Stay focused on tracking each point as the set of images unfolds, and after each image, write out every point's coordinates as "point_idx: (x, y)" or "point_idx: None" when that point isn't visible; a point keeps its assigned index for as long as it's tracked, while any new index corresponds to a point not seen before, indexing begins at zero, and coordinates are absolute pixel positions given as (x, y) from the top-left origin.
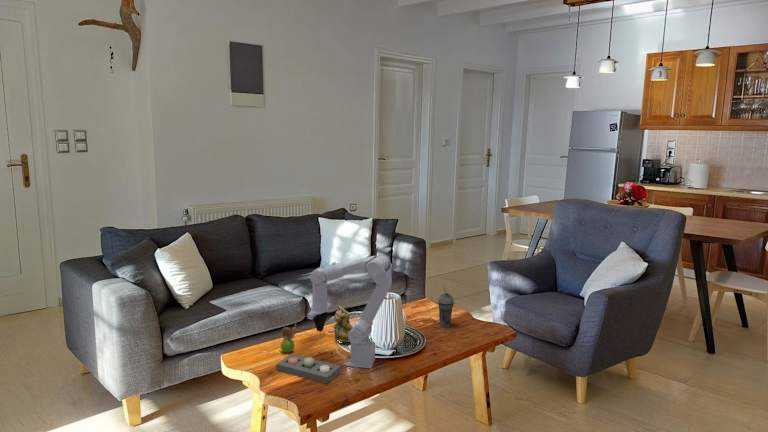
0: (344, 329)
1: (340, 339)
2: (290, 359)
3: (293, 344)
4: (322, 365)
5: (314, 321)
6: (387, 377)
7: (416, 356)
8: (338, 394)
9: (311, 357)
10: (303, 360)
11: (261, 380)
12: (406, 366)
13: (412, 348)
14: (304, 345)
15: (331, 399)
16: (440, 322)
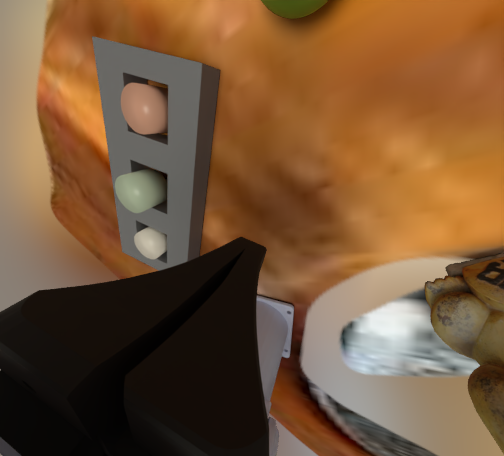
0: (488, 359)
1: (436, 290)
2: (129, 98)
3: (288, 7)
4: (151, 238)
5: (157, 276)
6: None
7: (327, 430)
8: (120, 266)
9: (145, 202)
10: (167, 157)
11: (49, 26)
12: None
13: (382, 445)
14: (428, 56)
15: (101, 255)
16: None
